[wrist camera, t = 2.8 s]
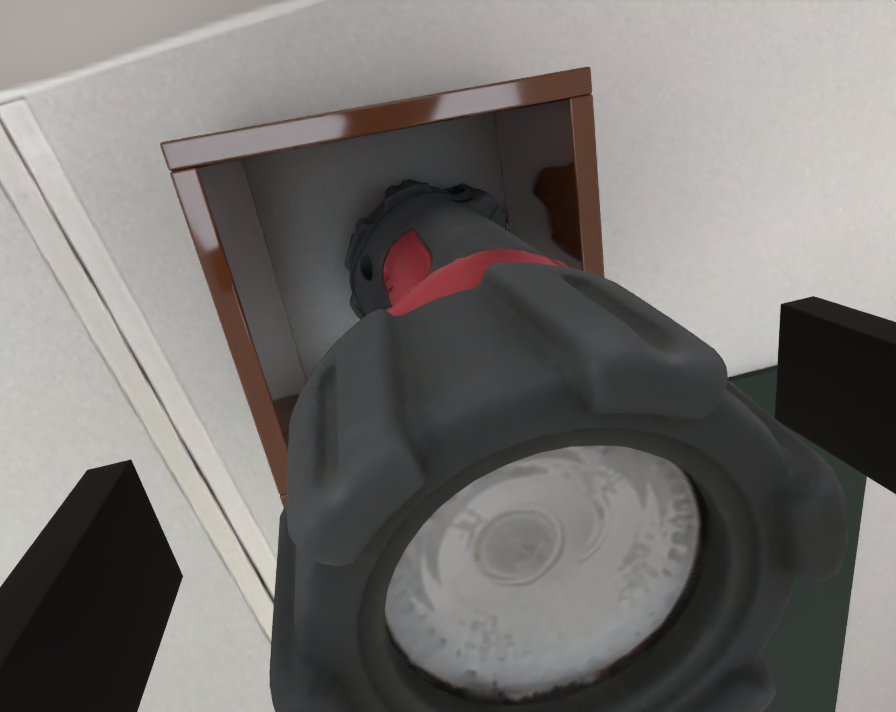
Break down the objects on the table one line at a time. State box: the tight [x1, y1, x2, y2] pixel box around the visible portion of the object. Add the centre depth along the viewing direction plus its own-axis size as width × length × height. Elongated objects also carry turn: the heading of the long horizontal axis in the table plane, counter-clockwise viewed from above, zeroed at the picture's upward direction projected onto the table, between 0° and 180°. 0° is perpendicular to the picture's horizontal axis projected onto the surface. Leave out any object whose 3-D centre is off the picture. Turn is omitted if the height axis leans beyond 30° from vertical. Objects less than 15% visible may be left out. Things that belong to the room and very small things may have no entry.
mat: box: [727, 366, 867, 712], centre depth 41 cm, size 24×40×1 cm, turn 10°
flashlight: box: [270, 180, 848, 712], centre depth 17 cm, size 8×8×23 cm
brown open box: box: [160, 67, 604, 509], centre depth 24 cm, size 13×13×9 cm
